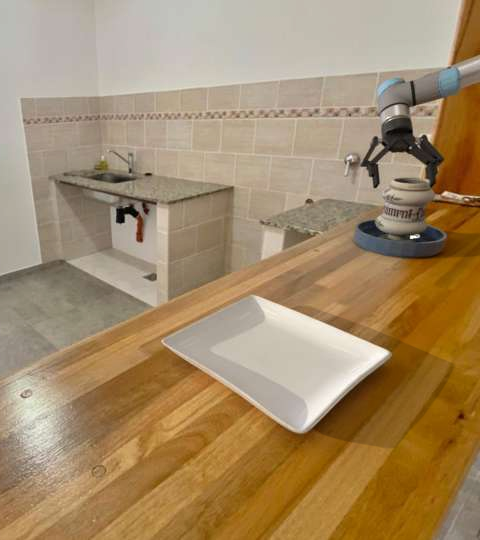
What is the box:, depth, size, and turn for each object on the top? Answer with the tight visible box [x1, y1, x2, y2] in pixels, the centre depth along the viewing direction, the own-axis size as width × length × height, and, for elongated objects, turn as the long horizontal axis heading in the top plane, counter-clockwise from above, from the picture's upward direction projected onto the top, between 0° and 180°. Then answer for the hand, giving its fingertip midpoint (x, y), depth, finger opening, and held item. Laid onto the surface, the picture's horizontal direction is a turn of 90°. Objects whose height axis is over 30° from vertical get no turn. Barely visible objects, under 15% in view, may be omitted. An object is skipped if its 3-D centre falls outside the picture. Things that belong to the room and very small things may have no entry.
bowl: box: [352, 218, 448, 259], centre depth 110 cm, size 21×21×4 cm
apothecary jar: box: [375, 176, 436, 243], centre depth 107 cm, size 12×12×18 cm
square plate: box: [161, 294, 393, 435], centre depth 66 cm, size 27×27×4 cm
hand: (403, 185), depth 108 cm, fingers open, 13 cm apart
